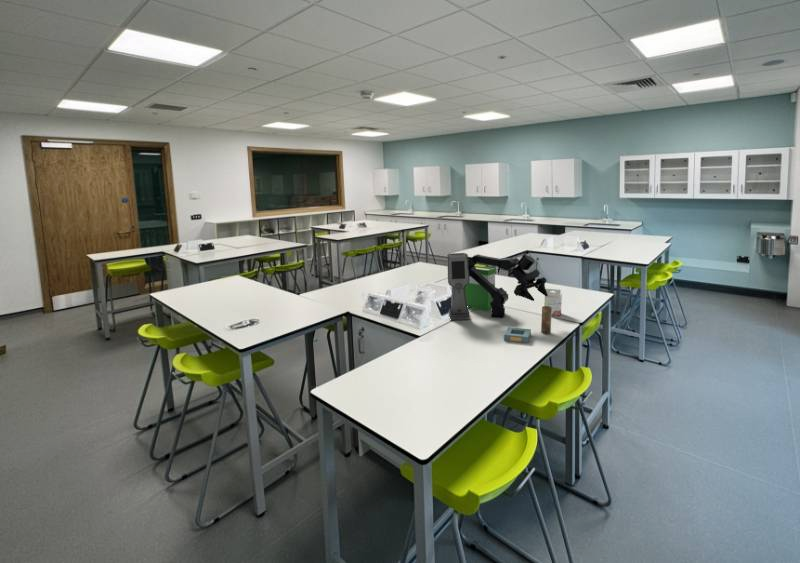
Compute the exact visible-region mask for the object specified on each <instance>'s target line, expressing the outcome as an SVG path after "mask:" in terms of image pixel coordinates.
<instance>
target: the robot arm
mask: <svg viewBox="0 0 800 563" xmlns="http://www.w3.org/2000/svg"><path fill="white" fill-rule="evenodd" d="M478 263H479V264H484V265H490V266H495V267H498V268H499V269H500V270H504V271H508V272H509V273H508V277H513V278H515V279H516V280H517V285H516V286H515V288H514V289H513V290H514V291H513V294H514V295H515V296H516V297H521V298H525V299H527V300H529V301H531V302H535V298H534V297H533V296H532V295H531V293H530V291H529V290H528V289H531V288H535V289H536V290H537V291H538V292H539V293H541V294H542V295H543V296H544V297H545V296H546V297H547V296H548V294H547V292H546V289H547V288H546V286H545V285H546V282H547V281H548V280H547V279H546V277H543V276H542V277H539V276H540V275H541V273H540V271H539V270H538V269H537V268H536V269H534V270H532V271H531V272H530V271H529V269H531V267H532V266H533V265H534V264H535V263H536V260H535V259H534V257H532V256H530V255H527V254H526V253H524V254H523V255H522V257H521V258H520V259H519V260H517V259H514V258H511V257H503V258H497V257H492V256H488V255H487V256H486V255H482V254H479V253H478V254H475V255H473V256H472V257H470V258H468V269H469V276H470V277H472V278H473V279H474V280H475V281H476V282H477V283H479V284H480V285H481V286H482V287H483V288H484V289H485V290H486V291H488V292H489V293H490V295H491V297H492V299H493V301H492V302H491V303H490V305H491V307H492V310H491V315H490V317H491V318H499V319H500V318H501V319H503V318H504V316H506V307H505V304H506V302H508V300H509V294H508V293H507V291H506V290H505V289H504V288H503V287H500V288H498V287H497V286H496V285H495V286H494V285H492V284H491V283H490V282H489V281H488V280H487V279H486V278H485V277H483V276H482V275H481V274H480V273H479V272H478V271H477V270H476V267H475V266H477V264H478ZM510 270H511V271H510ZM526 271H529V272H528V273H527V272H526ZM538 277H539V278H538Z"/></svg>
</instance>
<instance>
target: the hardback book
mask: <svg viewBox="0 0 800 563" xmlns="http://www.w3.org/2000/svg"><path fill="white" fill-rule="evenodd" d="M474 266H475V267H476V270H477V271H478V272H479V273H480V274H481V275H482V276H483V277H485V278H486V279H487V280H488V281H489V282H490V283H491V284H492V285H494V286H495V287H496V268H495V267H487V266H480V265H479V266H478V265H474ZM465 292H466V300H467V306H468V307H467V308H470V307H472V308H471V309H475V308H476V309H475V310H480V309H481V310H480V311H484V310H486V312H489V311H492V310H491V309H492V307H491V305H490V303H491V302H492V301H493V299H492V297H491V295H490V293H489V292H488V291H486V290H485V289H484V288H483V287H482V286H481V285H480V284H479V283H477V282H476V281H475V280H474V279H473V278H472V277H470V276H469V284H468V285H467V286H465Z"/></svg>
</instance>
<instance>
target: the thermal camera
mask: <svg viewBox="0 0 800 563" xmlns="http://www.w3.org/2000/svg"><path fill="white" fill-rule="evenodd" d="M446 258H447V259H446V261H447V283H448V285H449V286H451V298H450V300H451V305H450V307H449V309H448V318H449V317H450V319H451V320H450V319H449V320H450V321H469V320H471V314H470V310H469V307H467V300H466V292H465V286H467V285H468V284H469V269H468V260H469V255H468V253H466V252H457V253H448V254H447V257H446Z"/></svg>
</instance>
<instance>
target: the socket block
mask: <svg viewBox="0 0 800 563" xmlns="http://www.w3.org/2000/svg"><path fill="white" fill-rule="evenodd" d="M531 335H532V329H531V328H520V327H509V326H507V327H506V330H505V332H504V334H503V341H505V342H511V343H521V342H522V343H523V344H529V342H530V338H531Z"/></svg>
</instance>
